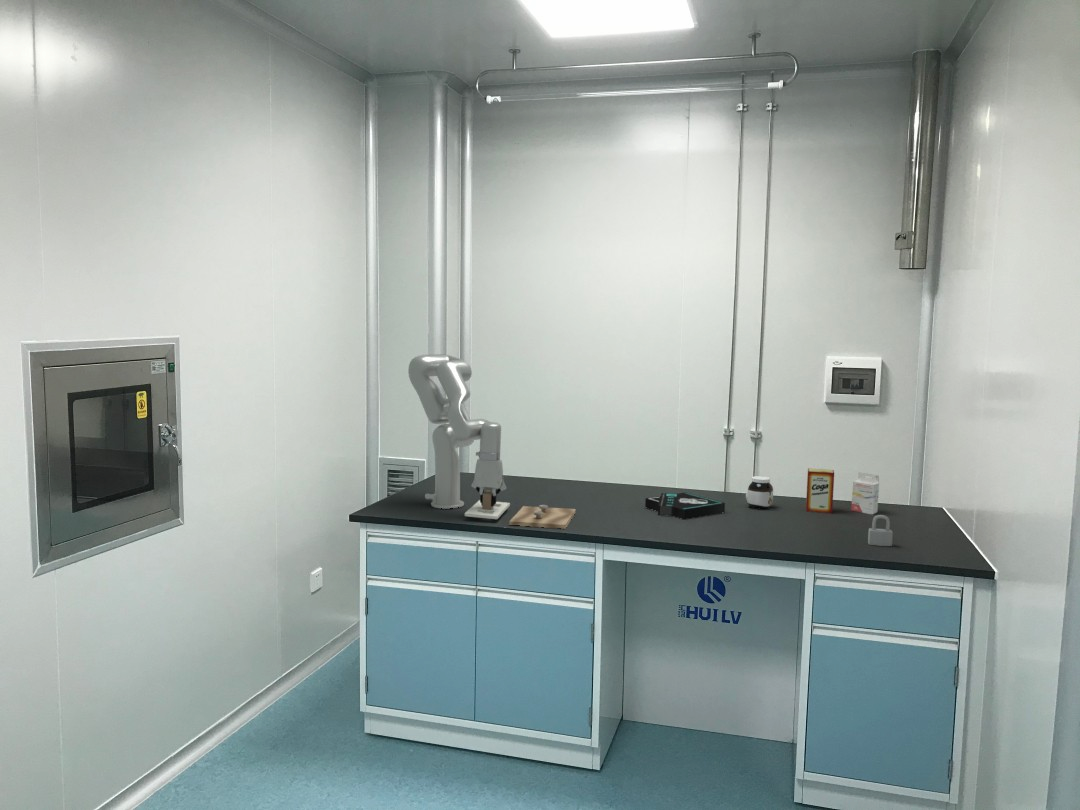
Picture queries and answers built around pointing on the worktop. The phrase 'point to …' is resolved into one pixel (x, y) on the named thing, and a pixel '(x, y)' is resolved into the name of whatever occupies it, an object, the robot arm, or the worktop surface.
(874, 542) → the padlock
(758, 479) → the spread jar
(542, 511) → the board
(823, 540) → the worktop surface
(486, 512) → the panel
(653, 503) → the flat black box
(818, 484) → the baking soda box
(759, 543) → the worktop surface
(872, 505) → the ink cartridge box
